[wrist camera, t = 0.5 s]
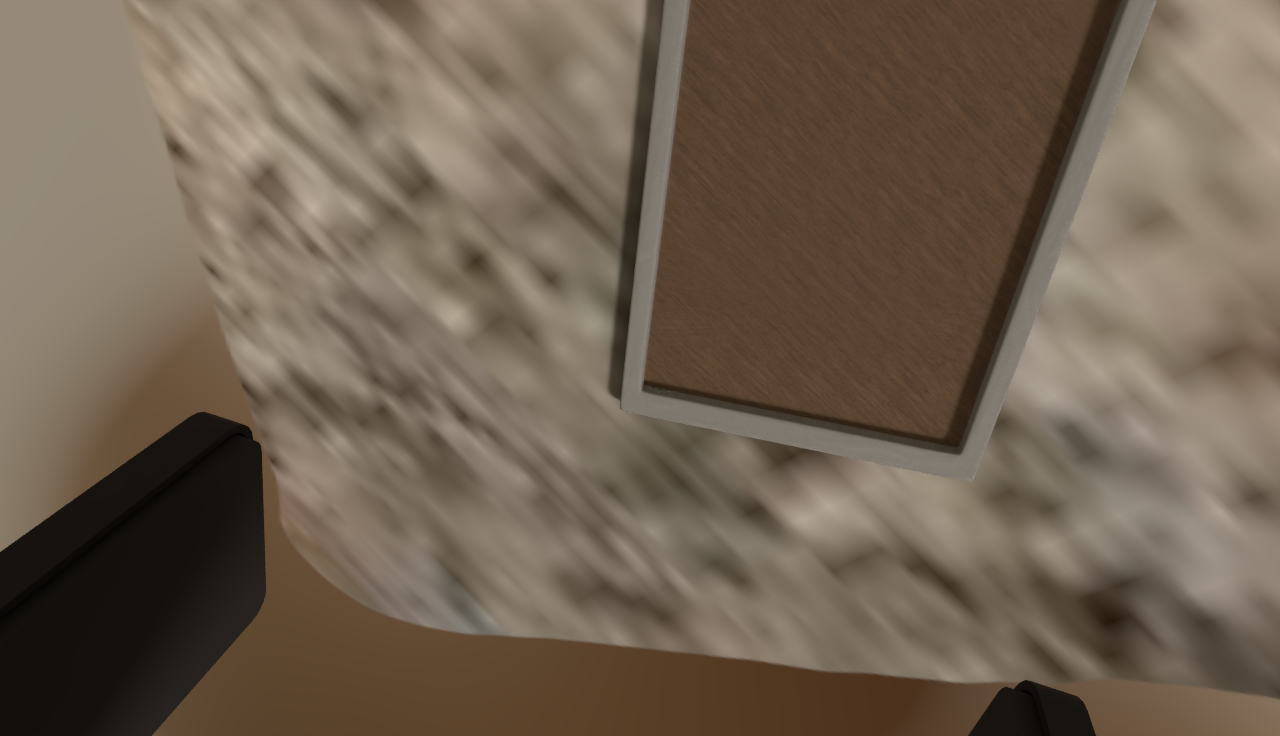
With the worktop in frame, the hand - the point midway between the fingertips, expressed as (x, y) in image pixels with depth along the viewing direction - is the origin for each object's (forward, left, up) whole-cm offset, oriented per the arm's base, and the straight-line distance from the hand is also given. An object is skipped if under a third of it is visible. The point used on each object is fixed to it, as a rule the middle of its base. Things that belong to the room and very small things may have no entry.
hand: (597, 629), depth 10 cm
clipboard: (-3, +3, -31) cm, 32 cm away
